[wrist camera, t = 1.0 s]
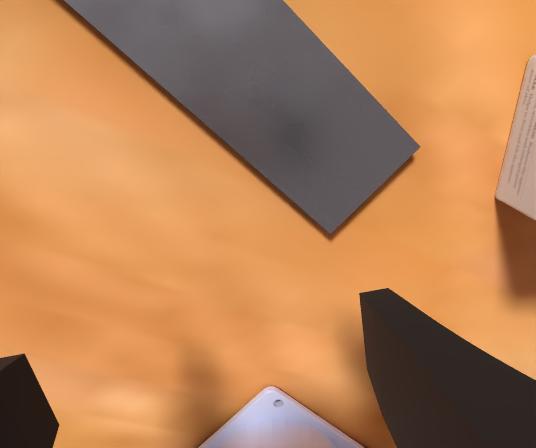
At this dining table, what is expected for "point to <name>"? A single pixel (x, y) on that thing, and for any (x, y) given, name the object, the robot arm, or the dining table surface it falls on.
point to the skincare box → (521, 150)
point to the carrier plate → (264, 94)
